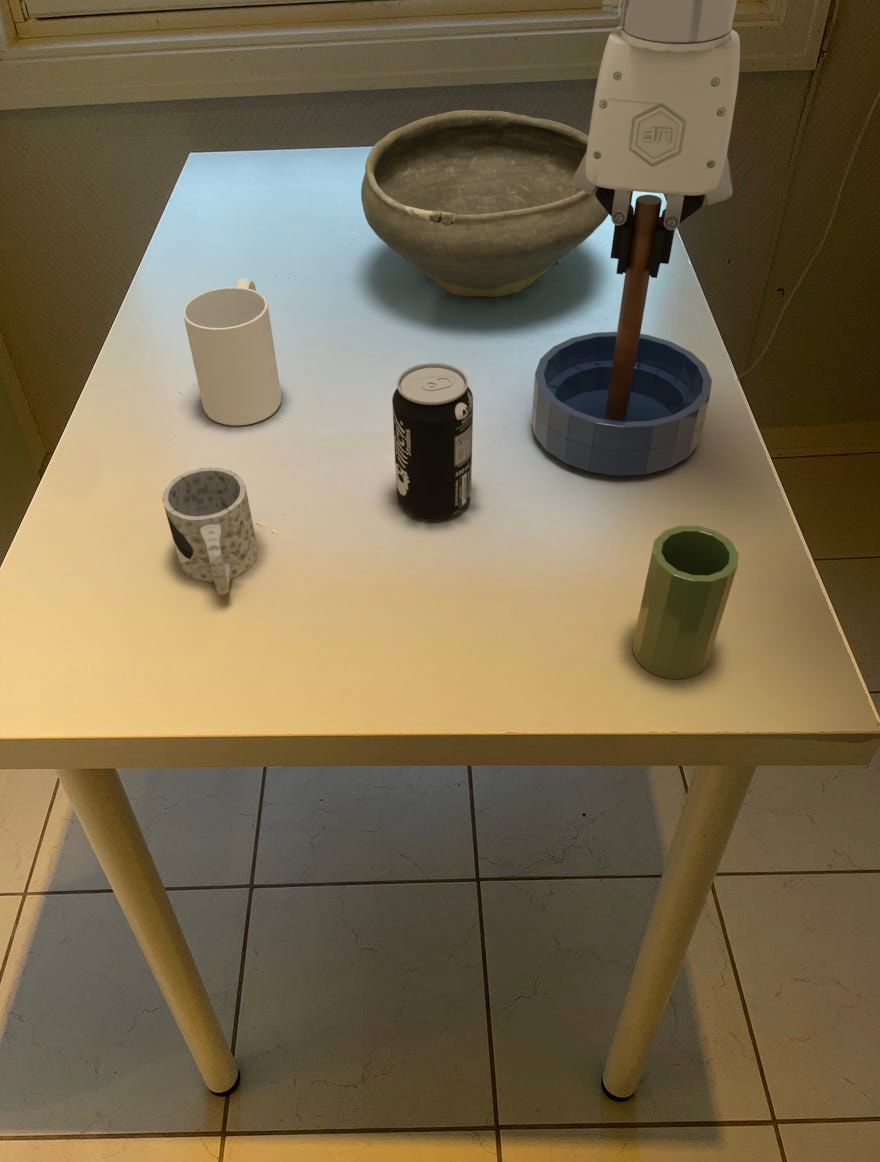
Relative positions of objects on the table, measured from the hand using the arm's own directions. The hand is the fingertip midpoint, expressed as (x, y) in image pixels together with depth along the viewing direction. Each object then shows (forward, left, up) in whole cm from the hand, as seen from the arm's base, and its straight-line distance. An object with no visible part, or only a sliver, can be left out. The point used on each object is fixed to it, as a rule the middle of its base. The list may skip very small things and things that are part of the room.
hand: (638, 266), depth 80 cm
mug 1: (+37, +2, -16) cm, 40 cm away
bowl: (+19, -27, -16) cm, 37 cm away
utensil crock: (-8, +27, -16) cm, 33 cm away
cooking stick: (0, 0, -15) cm, 15 cm away
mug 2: (+29, +27, -16) cm, 43 cm away
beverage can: (+14, +14, -16) cm, 26 cm away
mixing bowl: (0, 0, -16) cm, 16 cm away
